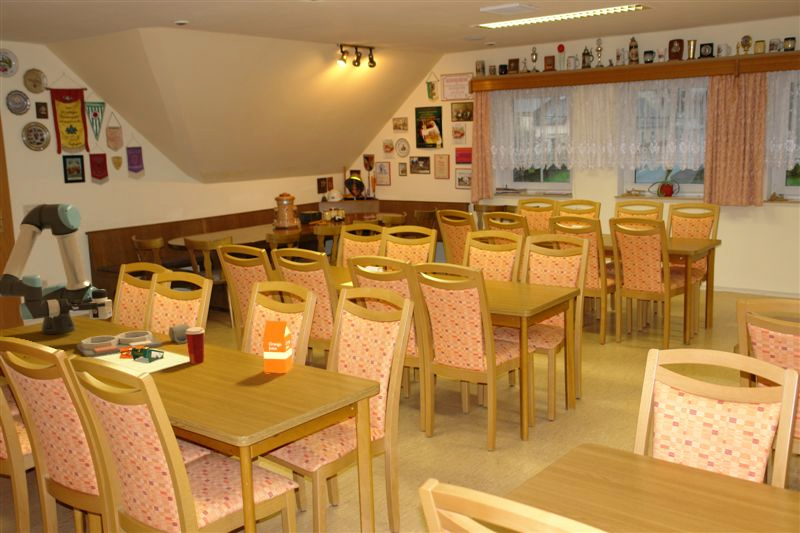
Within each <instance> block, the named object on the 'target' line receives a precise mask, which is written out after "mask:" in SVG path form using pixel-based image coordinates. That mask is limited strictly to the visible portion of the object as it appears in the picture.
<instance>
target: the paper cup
mask: <svg viewBox="0 0 800 533" xmlns="http://www.w3.org/2000/svg"><path fill="white" fill-rule="evenodd" d="M185 333H186V336H187V351H188V358H189V363H190V364H193V365H199V364H202V363H204V362H205V333H206V332H205V329H204V328H203V327H201V326H198V327H197V326H196V327H195V326H194V327H189V329H187V330H186V332H185Z"/></svg>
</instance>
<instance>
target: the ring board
mask: <svg viewBox="0 0 800 533" xmlns="http://www.w3.org/2000/svg"><path fill="white" fill-rule="evenodd" d="M128 346H131V347H132V346H144V347H149V348H148V349H154V348H160V347H161V348H162V347H163V343H162V342H161V341H159V340H158V339H157V338H155V337H154V336H153V333H152V332H151V331H150V330H132V331H127V332H126V331H125V332H122V333H119V334H117V335H98V336H90V337H87V338H85V339H82V340H81V341H80V343H78V344H76V348H77V349H78V351H80V353H82V354H83V356H84V357H85V358H87V357H90V358H95V357H101V356H108V355H107V354H110V355H112V354H111V353H116V354H119V353H118V352H120V349H121V348H124V347H128Z"/></svg>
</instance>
